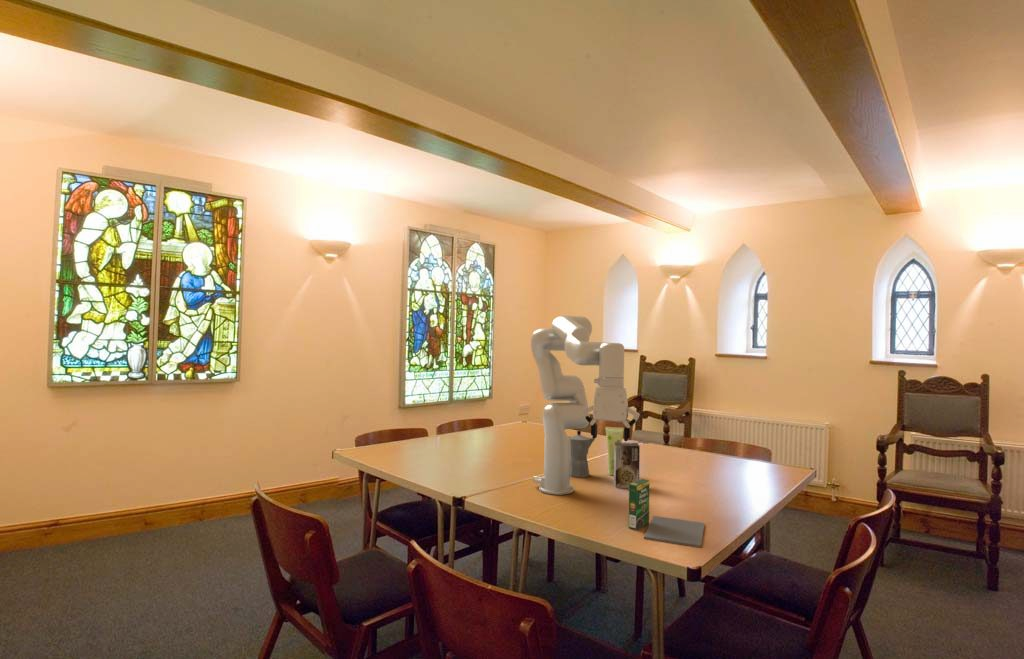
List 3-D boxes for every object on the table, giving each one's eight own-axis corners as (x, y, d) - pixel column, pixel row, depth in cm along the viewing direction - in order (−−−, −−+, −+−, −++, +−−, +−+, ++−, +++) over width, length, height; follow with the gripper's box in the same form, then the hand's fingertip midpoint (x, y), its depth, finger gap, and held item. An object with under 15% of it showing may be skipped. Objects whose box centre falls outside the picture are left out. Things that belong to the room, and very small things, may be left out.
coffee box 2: (636, 530, 158) (637, 485, 158) (627, 528, 160) (628, 483, 160) (649, 524, 164) (650, 480, 164) (641, 522, 166) (641, 478, 166)
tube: (611, 476, 221) (612, 428, 222) (604, 473, 226) (605, 426, 226) (622, 475, 224) (623, 427, 224) (615, 472, 228) (616, 425, 229)
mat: (643, 538, 151) (643, 536, 151) (653, 517, 170) (653, 515, 170) (701, 547, 146) (701, 545, 146) (704, 524, 164) (704, 522, 164)
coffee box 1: (637, 484, 210) (638, 442, 210) (639, 489, 203) (640, 445, 204) (613, 483, 211) (614, 441, 211) (614, 487, 204) (615, 444, 205)
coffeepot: (591, 472, 228) (592, 429, 228) (596, 478, 218) (597, 432, 219) (554, 471, 227) (556, 428, 227) (558, 477, 217) (559, 432, 218)
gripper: (580, 382, 167) (579, 438, 166) (638, 385, 160) (637, 443, 160) (586, 381, 174) (585, 435, 173) (641, 383, 167) (640, 439, 167)
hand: (610, 439), depth 167 cm, fingers open, 9 cm apart
